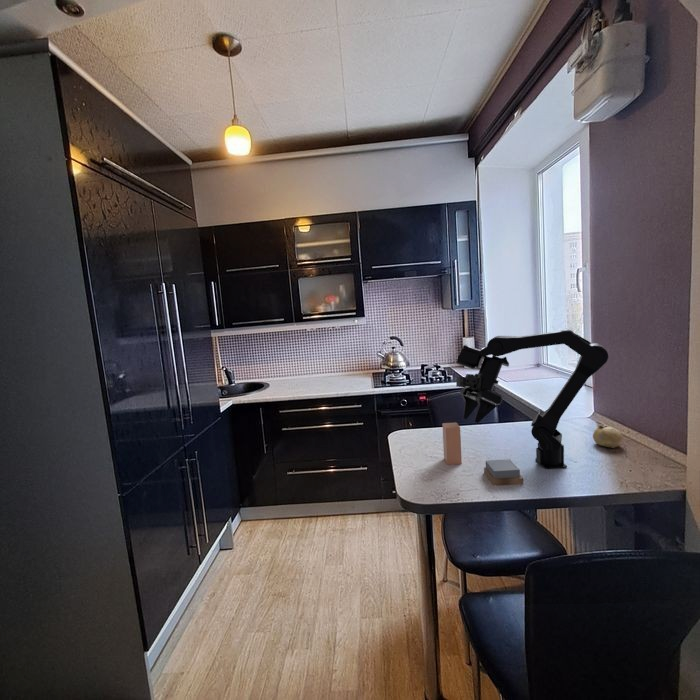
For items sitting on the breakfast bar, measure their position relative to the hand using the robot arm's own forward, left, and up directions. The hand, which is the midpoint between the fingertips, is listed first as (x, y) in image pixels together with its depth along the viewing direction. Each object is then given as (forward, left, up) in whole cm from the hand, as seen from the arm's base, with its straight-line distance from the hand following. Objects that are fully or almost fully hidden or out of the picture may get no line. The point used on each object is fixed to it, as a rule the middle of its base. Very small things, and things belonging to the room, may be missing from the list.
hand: (470, 420), depth 115 cm
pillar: (+6, -2, -14) cm, 15 cm away
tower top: (-5, +11, -12) cm, 17 cm away
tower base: (-6, +11, -14) cm, 19 cm away
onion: (-46, -7, -14) cm, 49 cm away
